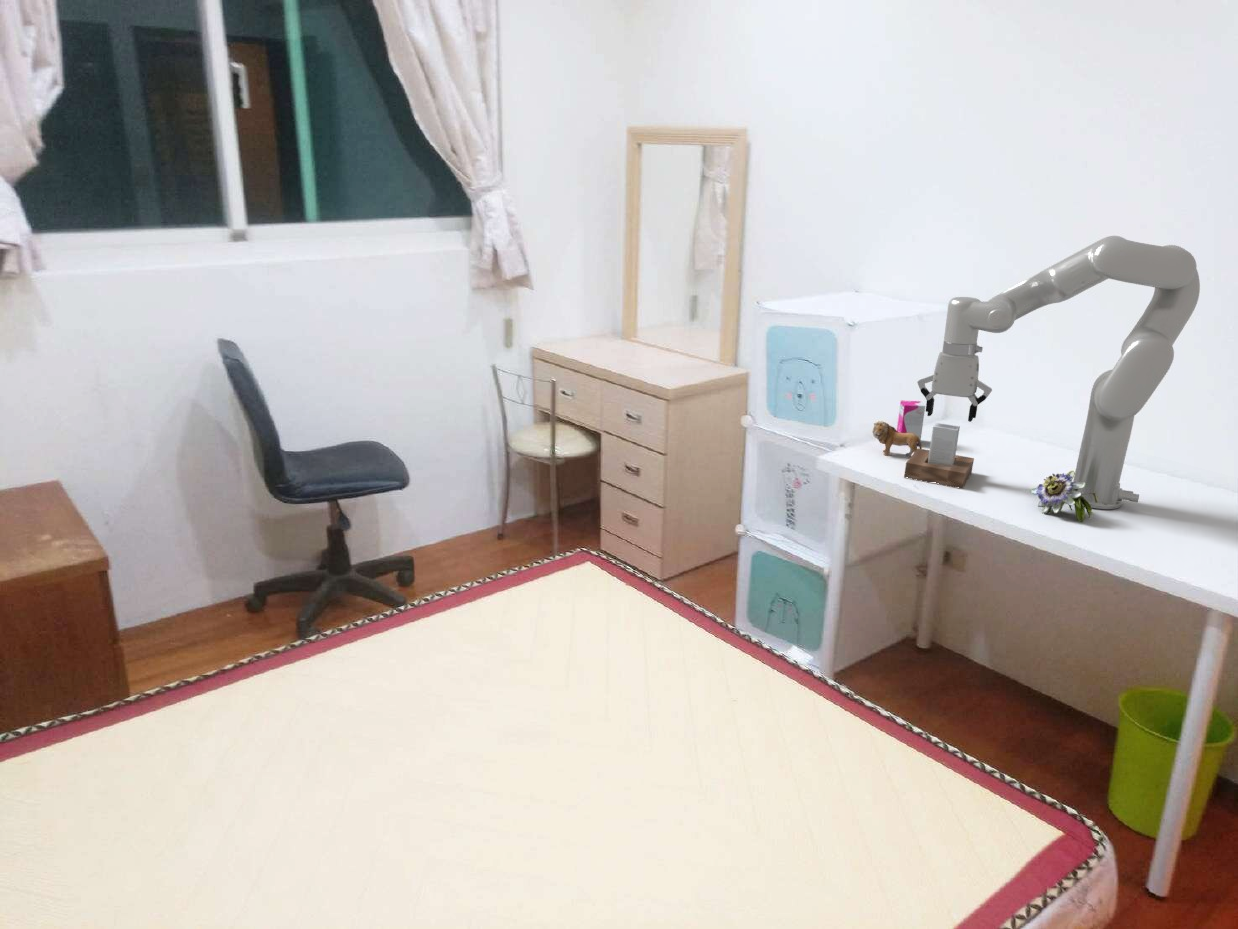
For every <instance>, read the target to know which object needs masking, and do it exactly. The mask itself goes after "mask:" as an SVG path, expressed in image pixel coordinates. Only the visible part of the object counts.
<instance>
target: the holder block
mask: <svg viewBox="0 0 1238 929" xmlns="http://www.w3.org/2000/svg"><path fill="white" fill-rule="evenodd" d="M929 451H930V449H924V448H922V449H920V448H918V447H917V450H916V451H915V453H914V452H913V453H912V455H910V456H909V457H910V458H909V459H908V460H907V461H906V463H905V468H904V476H903V478H904V477H908V478H912V479H911V480H914V479H917V480H916V481H919V480H922V481H921V482H924V481H927V482H926V483H929V482H936V483H939V484H943V485H942V486H945V485H947V486H946V487H950V486H951V487H952V488H955V487H959V488H958V489H960V488H964V487H965V485H966V484H965V483H967V482H968V480H969V479H970V477H971V475H972V473H973V468H974V462H975V461H974V460H975V458H974V457H969V456H963V455H958V454H956V455H955V461H954V464H953V465H952V467H946V466H940V465H935V464H930V463H928V458H929ZM908 478H907V479H908ZM939 484H938V485H939ZM951 487H950V488H951Z"/></svg>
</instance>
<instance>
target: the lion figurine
mask: <svg viewBox="0 0 1238 929" xmlns="http://www.w3.org/2000/svg"><path fill="white" fill-rule="evenodd" d="M872 435H873V437H874V438H875V439H877V440H878V442H879V443H880V444H883V445H884V446H885V449H883V450H882V453H883V456H888V457H889V455H890V453H891V447H892V446H897V447H903V446H906V444H908V448H909V449H910V450H909V452H907V453H905V456H909V457H911V456H912V455H913V454H914V453H915V451H916V450H917V449H918V447H919V449H923V448H922V442H921V441H920V439H919V437H918V436H917V435H915V434H913V433H899V432H898V431H897V428H895V427H894V426H892V425H890V424H889V423H887V422H884V421H883V420H881V421H877V422H874V423H873V428H872ZM917 442H918V443H919V445H917Z"/></svg>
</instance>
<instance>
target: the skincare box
mask: <svg viewBox="0 0 1238 929" xmlns="http://www.w3.org/2000/svg"><path fill="white" fill-rule="evenodd" d="M960 427H961V426H960V425H953V424H952V425H951V424H947V423H946V424H945V423H939V422H935V423H934V424H933V426H932V433H931V440H930V445H929V450H930V451H929V458H928V463H930V464H935V465H940V466H946V467H952V465H953V464H954V461H955V455H957V454H956V452H957V446H958V440H959V435H960Z"/></svg>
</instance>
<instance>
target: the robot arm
mask: <svg viewBox="0 0 1238 929" xmlns="http://www.w3.org/2000/svg"><path fill="white" fill-rule="evenodd" d="M1192 254H1193V253H1191V252H1190V251H1188V250H1187V249H1185V248H1183V247H1181V246H1179V245H1175V244H1174V245H1173V244H1168V245H1155V244H1149V243H1144V242H1138V241H1134V240H1129V239H1126V237H1122V236H1120V235H1109V236H1105V237H1104V238H1101V239H1099V240H1097V241H1095V242H1093V243H1092V244H1090V245H1088V246H1086V247H1084V248H1082V249H1081V250H1078V251H1076V252H1074V253H1073V254H1072V255H1070V256H1068V257H1065V258H1064V259H1062V260H1060V261H1058V262H1057V263H1054V264H1053V265H1051V266H1049V267H1047V268H1045V269H1043V270H1041V271H1040V272H1038V273H1036V274H1034V275H1033V276H1031V277H1029V278H1027V279H1025V280H1023V281H1021V282H1019V283H1017V284H1015V285H1013V286H1011V287H1010V288H1008V289H1005V290H1003V291H1002V292H1000V293H998V294H996V295H995V296H993V297H992V298H990V299H989V300H988V301H981V300H980V299H978V298H976V297H969V296H955V297H952V298H951V299H950V300H949V302H948V306H947V312H946V313H947V314H946V319H945V329H944V336H943V344H942V350H941V351H939V354H938V357H937V359H936V363H935V367H934V370H933V371H934V372H933V374H932V375H930V376H926V377H924V378H921V379H918V381H917V385H918V388H919V390H920V393H921V394H922V395H923V397H924V398H925V400H926V404H925V412H927V417H931V416H932V415H933V413H934V407H935V405H934V404H935V398H934V397H935V396H936V395H944V396H951V397H958V398H959V397H960V398H967V399H968V401H970V403H971V404H970V406H969V410H968V412H969V413H968V417H967V418H968V419H967V421H968V422H969V423H971V422H972V421H973V419H976V417H977V410H978V405H980V404H982V403H983V402H984V401H985V400H986V399H987V398H988V397H989V395H990V394H991V392H993V389H992V388H991V387H990V386H988V385H987V384H985V383H984V382H982V381H981V380H979V368H980V363H979V362H980V361H979V360H980V358H979V355H976V354H977V353H982V352H983V346H980V345H978V339H979V338H978V337H979V331H984V332H986V333H991V334H992V333H993V334H1000V333H1005V332H1007V331H1008V330H1010V329H1011V328H1012V327H1013V325H1014V323H1015V321H1016V320H1018V319H1020V318H1022V317H1024V316H1026V315H1028V314H1029V313H1032V312H1034V311H1036V310H1039V309H1041V308H1043V307H1045V306H1048V305H1051V304H1052V305H1053V304H1057V303H1058V304H1059V303H1062V302H1065V301H1068V300H1070V299H1071V298H1074V297H1075V296H1077V295H1079V294H1081V293H1083V292H1085V291H1086V290H1088V289H1091V288H1092V287H1093V288H1094V287H1095V286H1097V285H1098V284H1101V283H1102V282H1103V283H1104V281H1106V280H1108V279H1109V280H1114V281H1119V282H1122V283H1128V284H1135V285H1140V286H1145V287H1151V288H1154V292H1153V295H1152V296H1151V299H1150V302H1149V303H1148V305H1147V306H1146V308H1145V310H1144V312H1143V314H1141V317H1140V318H1139V319H1138V320H1137V322H1136V323H1135V325H1134V327H1133V328H1132V330H1131V332H1130V331H1129V332H1130V333H1129V334H1128V335H1127V336H1126V338H1125V339H1124V340H1123V342H1122V345H1121V348H1120V353H1121V354H1120V355H1121V356H1120V357H1119V359H1118V360H1117V362H1116V364H1115V365H1114V366H1113V368H1112V369H1110V370H1107V371H1104V372H1103V373H1101V374H1100V375H1099V376H1098V377H1097V378H1096V379H1095V381H1094V382H1093V384H1092V387H1091V393H1090V396H1089V397H1090V399H1089V404H1088V411H1087V416H1086V422H1085V425H1084V430H1083V435H1082V439H1081V442H1080V449H1079V451H1078V452H1079V453H1078V457H1077V462H1076V467H1075V471H1074V472H1075V475H1074V477H1073V479H1072V481H1073V482H1081V483H1085V484H1086V485H1085V487H1083V488H1081V489H1078V490H1077V491H1078V492H1080V493H1081V494H1083V495H1081V496H1082V497H1084V499H1085V500H1086V501H1087V502H1088V503H1089V504H1090V506H1091V508H1092V509H1096V510H1097V509H1098V510H1115V509H1119V508H1121V507H1122V505H1123V500H1125V501H1129V502H1134V503H1137V504H1138V502H1139V499H1140V494H1137V493H1134V491H1132V490H1126V489H1123V488H1121V483H1120V481H1121V478H1122V477H1121V476H1122V472H1123V470H1124V464H1125V459H1126V456H1127V452H1128V447H1129V442H1130V439H1131V435H1132V430H1133V426H1134V420H1135V416H1136V415H1137V414H1138V413H1139V412H1140V411H1141V410H1142V409H1143V408H1144V407H1145V405H1146V404H1147V402H1148V401H1149V399H1150V398H1151V397H1152V395H1153V394H1154V392H1155V391H1156V389H1157V388H1158V387H1159V385H1160V384H1161V382H1162V381H1163V379H1164V378H1165V376H1166V375H1167V373H1168V372H1169V370H1170V368H1171V366H1172V364H1173V361H1174V358H1175V357H1174V356H1175V351H1174V350H1175V349H1174V346H1173V345H1174V344H1175V342H1176V340H1177V339H1178V337H1179V336H1180V334H1181V332H1182V331H1183V329H1184V328H1185V326H1186V324H1187V323H1188V321H1189V320H1190V318H1191V317H1192V314H1193V313H1194V311H1195V308H1196V307H1197V304H1198V301H1199V298H1200V293H1201V292H1200V290H1201V283H1200V282H1201V281H1200V277H1199V276H1200V275H1199V272H1198V271H1199V270H1198V268H1197V266H1198V265H1197V261H1196V258H1195V257H1194V255H1192ZM930 382H931V391H930V390H929V389H927V386H926V384H928V383H930ZM977 389H980V390H982V391H983V393H982V395H980V396H979V397H978V396H977V395H976V393H977V391H978V390H977ZM1094 492H1096V495H1097V498H1098V502H1095V497H1094V495H1093V493H1094ZM1084 493H1092V494H1084ZM1083 506H1084V505H1083ZM1084 507H1085V506H1084Z"/></svg>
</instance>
